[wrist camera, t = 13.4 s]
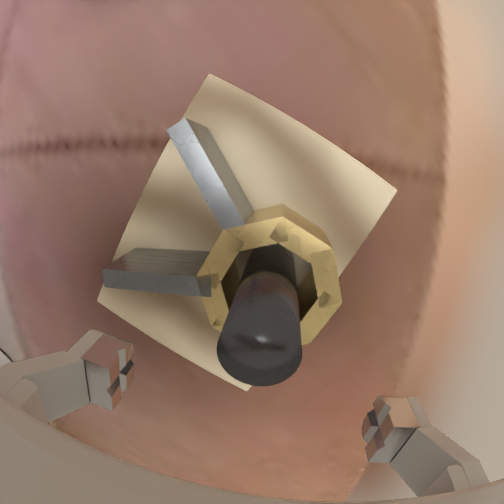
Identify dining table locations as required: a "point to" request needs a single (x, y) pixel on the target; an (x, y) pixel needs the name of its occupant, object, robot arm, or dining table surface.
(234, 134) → the oak board
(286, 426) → the dining table surface
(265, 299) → the hinge pin
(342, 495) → the dining table surface
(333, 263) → the hinge leaves
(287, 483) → the dining table surface
